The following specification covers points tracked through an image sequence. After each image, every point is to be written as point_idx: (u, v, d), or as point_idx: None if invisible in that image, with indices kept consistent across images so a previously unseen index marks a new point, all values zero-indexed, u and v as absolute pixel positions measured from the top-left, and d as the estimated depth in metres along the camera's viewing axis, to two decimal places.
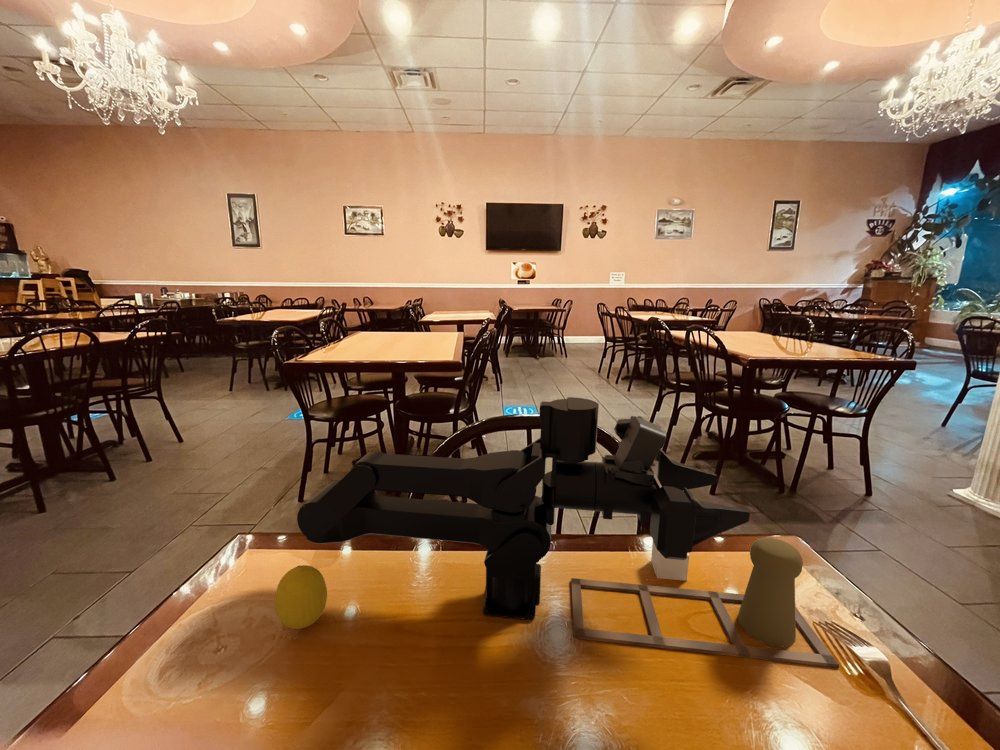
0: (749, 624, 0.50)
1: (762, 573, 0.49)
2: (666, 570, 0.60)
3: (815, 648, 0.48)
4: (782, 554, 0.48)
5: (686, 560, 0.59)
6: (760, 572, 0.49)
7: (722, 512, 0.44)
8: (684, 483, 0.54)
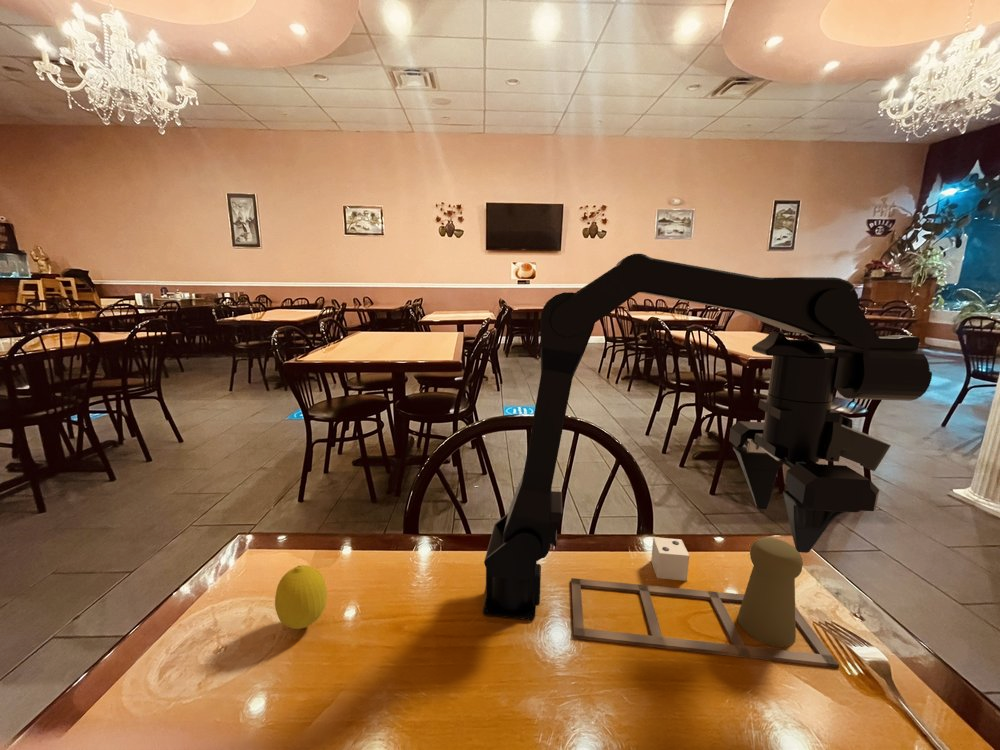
0: (749, 624, 0.50)
1: (762, 573, 0.49)
2: (666, 570, 0.60)
3: (815, 648, 0.48)
4: (782, 554, 0.48)
5: (686, 560, 0.59)
6: (760, 572, 0.49)
7: (820, 530, 0.43)
8: (756, 479, 0.53)
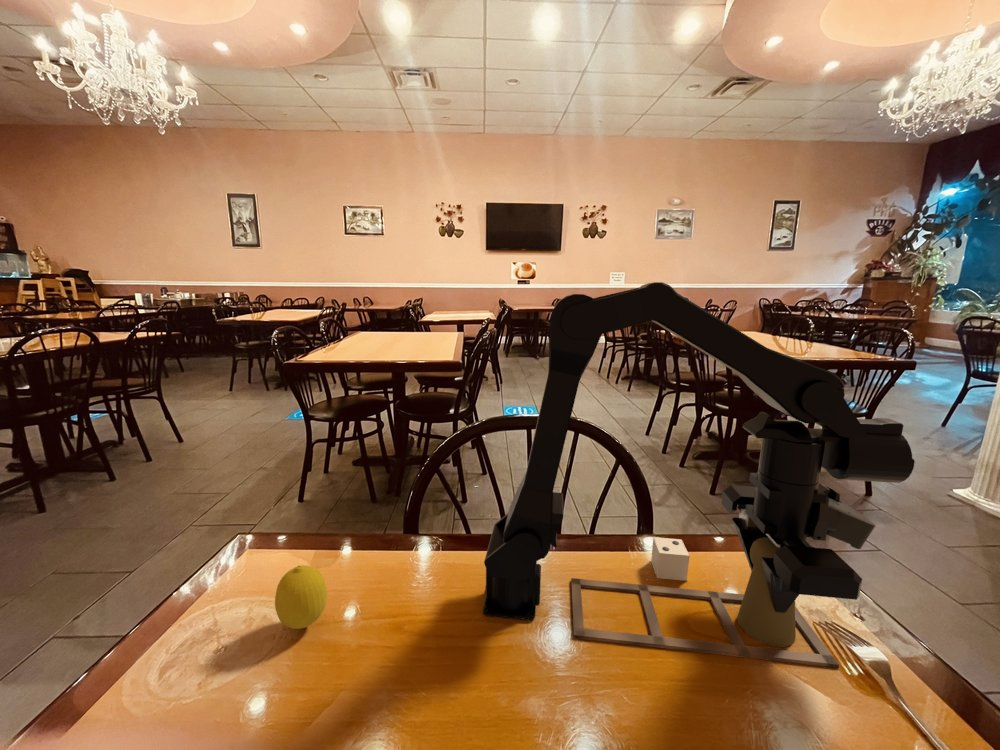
0: (749, 624, 0.50)
1: (762, 573, 0.49)
2: (666, 570, 0.60)
3: (815, 648, 0.48)
4: None
5: (686, 560, 0.59)
6: (760, 572, 0.49)
7: (796, 594, 0.47)
8: None
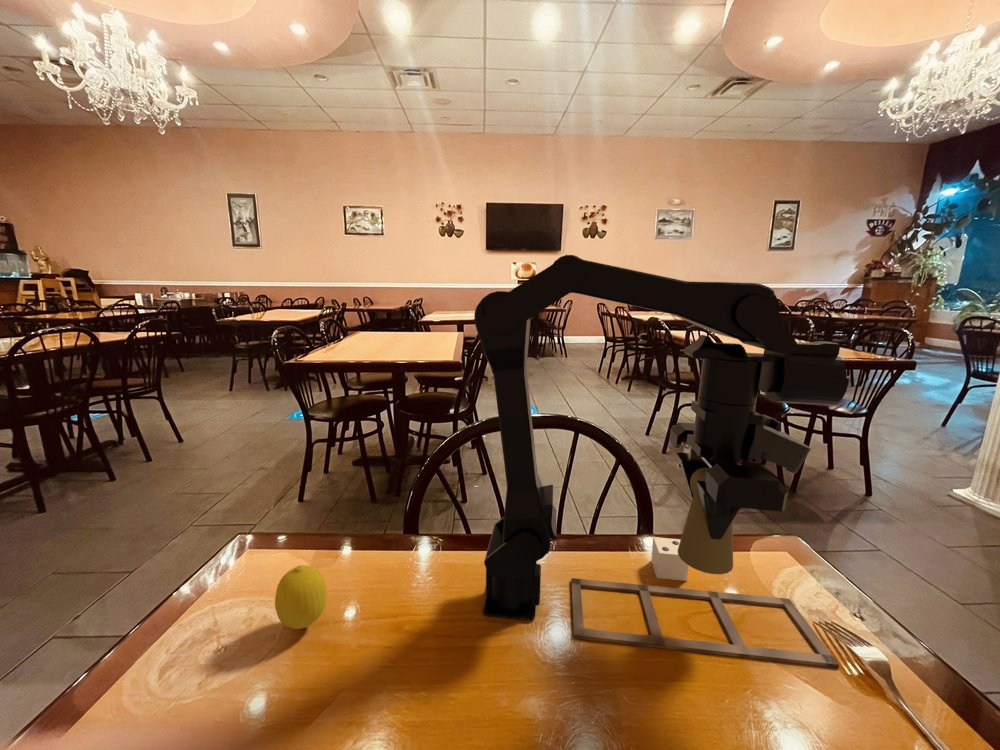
0: (687, 553, 0.50)
1: (700, 501, 0.49)
2: (666, 570, 0.60)
3: (815, 648, 0.48)
4: None
5: None
6: (698, 500, 0.49)
7: (730, 518, 0.46)
8: None
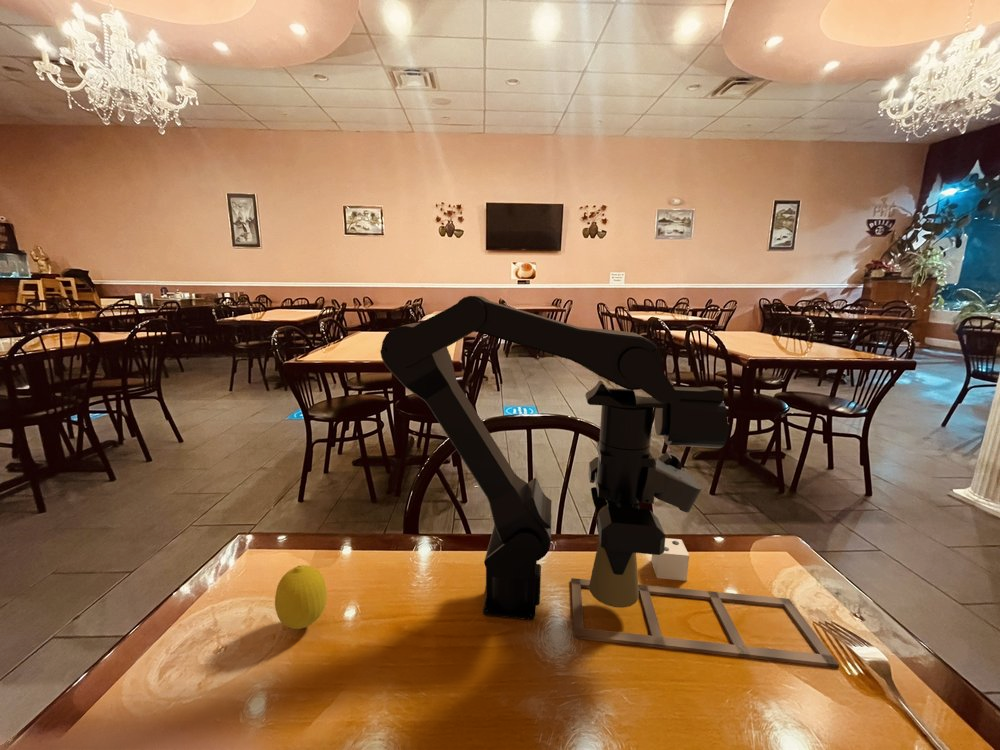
0: (594, 586, 0.52)
1: None
2: (666, 570, 0.60)
3: (815, 648, 0.48)
4: None
5: (686, 560, 0.59)
6: None
7: (628, 556, 0.49)
8: None
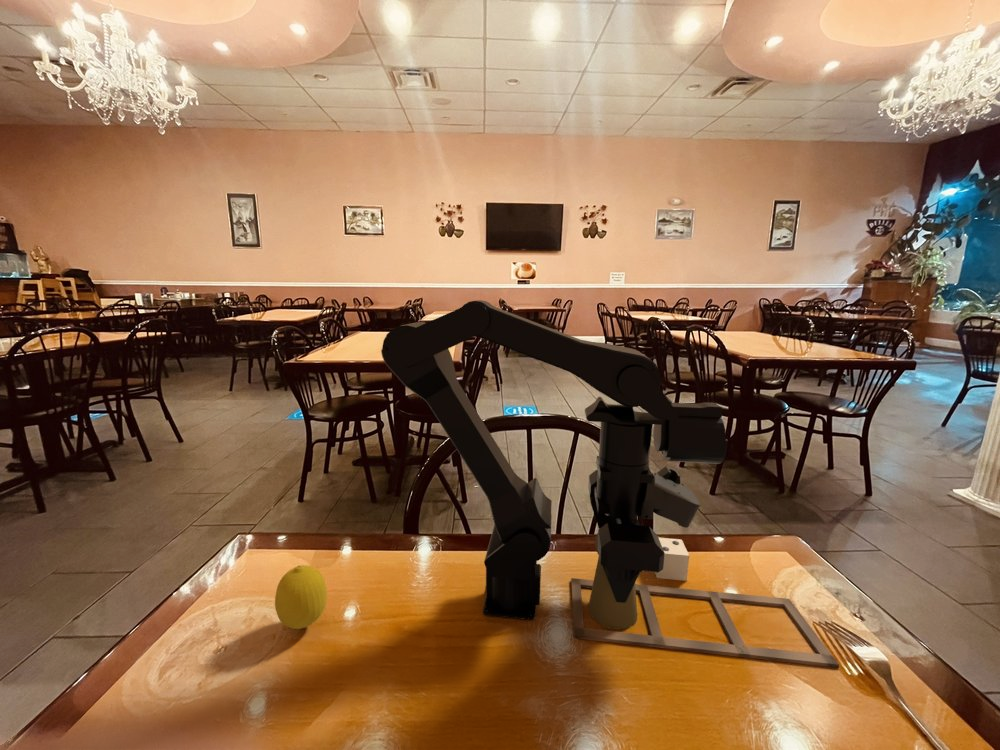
0: (593, 608, 0.53)
1: None
2: (666, 570, 0.60)
3: (815, 648, 0.48)
4: None
5: (686, 560, 0.59)
6: None
7: (631, 584, 0.47)
8: None
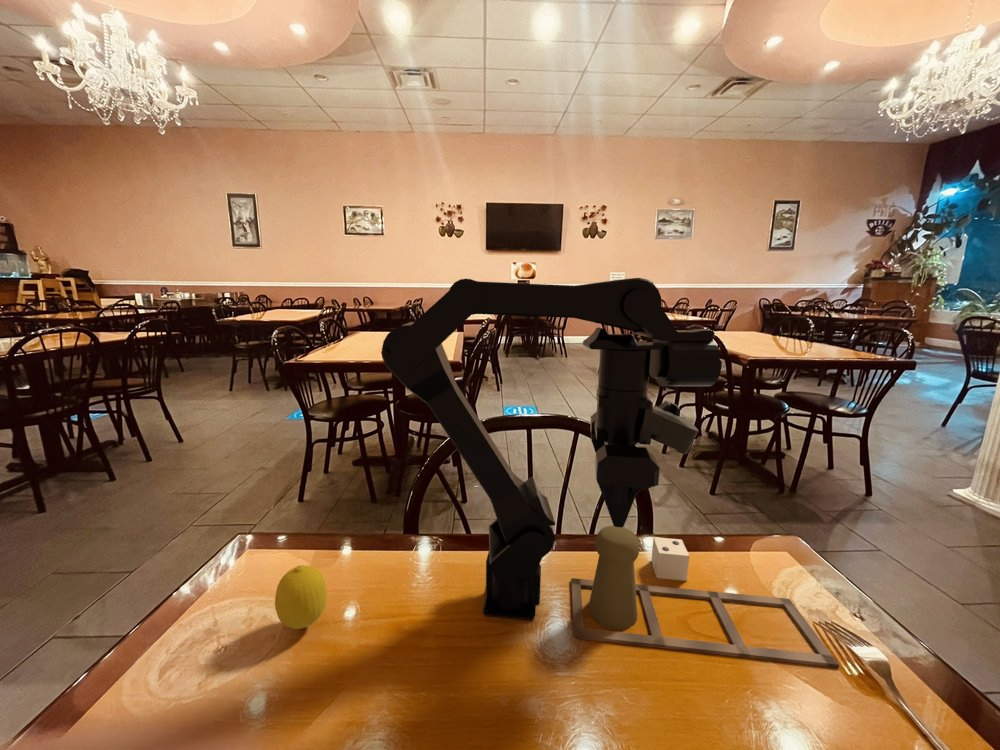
0: (593, 608, 0.53)
1: (602, 559, 0.52)
2: (666, 570, 0.60)
3: (815, 648, 0.48)
4: (617, 541, 0.50)
5: (686, 560, 0.59)
6: (601, 558, 0.52)
7: (628, 506, 0.47)
8: None
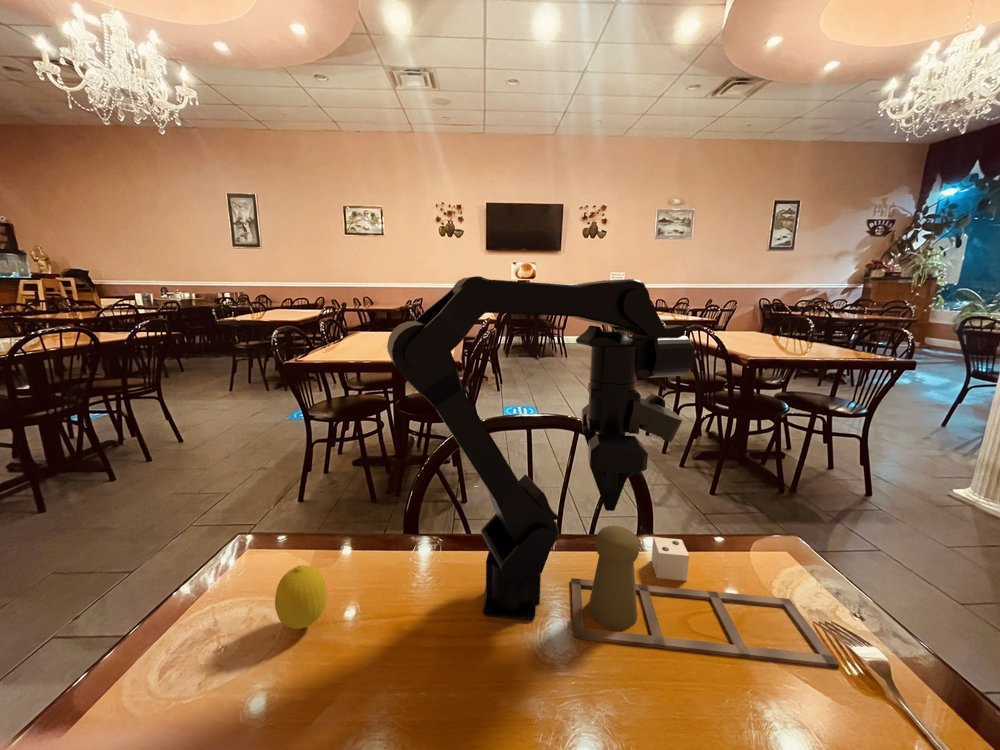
0: (593, 608, 0.53)
1: (602, 559, 0.52)
2: (666, 570, 0.60)
3: (815, 648, 0.48)
4: (617, 541, 0.50)
5: (686, 560, 0.59)
6: (601, 558, 0.52)
7: (618, 491, 0.51)
8: None
